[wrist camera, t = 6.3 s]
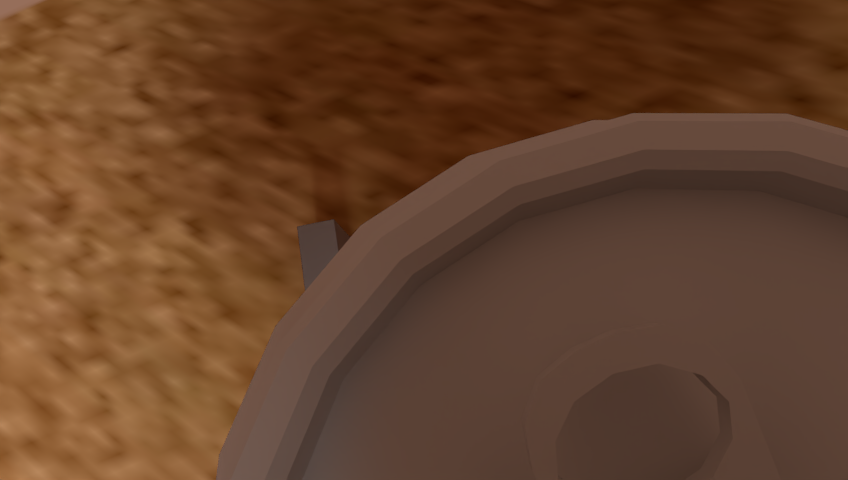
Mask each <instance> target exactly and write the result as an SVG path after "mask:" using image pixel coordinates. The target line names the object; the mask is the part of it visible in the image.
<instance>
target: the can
mask: <svg viewBox="0 0 848 480" xmlns="http://www.w3.org/2000/svg"><path fill="white" fill-rule="evenodd" d="M216 480H848V130H844V129H841V128H837V127H833V126H830V125H826V124H822V123H819V122H815V121H812V120H808V119H804V118H801V117H797V116H794V115H790V114H774V113H632V114H628V115H625V116H621V117H618V118H614V119H611V120H591V121H588V122H584V123H581V124H577V125H574V126H570V127H567V128H563V129H560V130H556V131H553V132H549V133H546V134H543V135H539V136H536V137H532V138H529V139H525V140H522V141H518V142H515V143H511V144H508V145H504V146H501V147H497V148H494V149H490V150H487V151H483V152H480V153H476V154H473V155H469V156H467V157H466V158H464V159H463V160H461V161H460V162H458V163H456V164H455V165H453V166H452V167H450V168H449V169H447V170H446V171H444V172H443V173H441V174H439V175H438V176H436V177H435V178H433V179H432V180H430V181H429V182H427V183H425V184H424V185H422V186H421V187H419V188H418V189H416V190H415V191H413V192H412V193H410V194H408V195H407V196H405V197H404V198H402V199H401V200H399V201H398V202H396V203H395V204H393V205H391V206H390V207H388V208H387V209H385V210H384V211H382V212H381V213H379V214H377V215H376V216H374V217H373V218H371V219H370V220H368V221H367V222H365V223H364V224H362V225H361V226H360V227H359V228H358V229H357V230H356V231H355V233H354V234H353V235H352V236H351V237H350V239H349V240H348V241H347V242H346V243H345V245H344V246H343V247H342V248H341V249H340V250H339V252H338V253H337V254H336V255H335V256H334V258H333V259H332V260H331V261H330V262H329V263H328V265H327V266H326V267H325V268H324V269H323V271H322V272H321V273H320V274H319V275H318V276H317V278H316V279H315V280H314V281H313V282H312V284H311V285H310V286H309V287H308V288H307V289H306V291H305V292H304V293H303V294H302V295H301V297H300V298H299V299H298V300H297V301H296V302H295V304H294V305H293V306H292V307H291V308H290V310H289V311H288V312H287V313H286V314H285V315H284V317H283V318H282V319H281V320H280V321H279V323H278V324H277V325H276V326H275V329H274V331H273V333H272V335H271V338H270V340H269V342H268V345H267V347H266V349H265V351H264V354H263V356H262V358H261V361H260V363H259V365H258V367H257V370H256V372H255V374H254V377H253V379H252V381H251V383H250V386H249V388H248V390H247V393H246V395H245V397H244V399H243V402H242V404H241V406H240V409H239V411H238V413H237V415H236V418H235V420H234V422H233V425H232V427H231V429H230V431H229V434H228V436H227V438H226V441H225V443H224V445H223V447H222V450H221V452H220V454H219V461H218V469H217V476H216Z"/></svg>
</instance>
